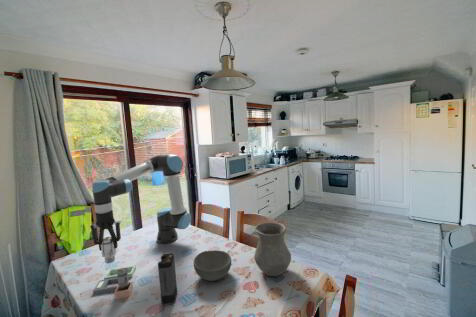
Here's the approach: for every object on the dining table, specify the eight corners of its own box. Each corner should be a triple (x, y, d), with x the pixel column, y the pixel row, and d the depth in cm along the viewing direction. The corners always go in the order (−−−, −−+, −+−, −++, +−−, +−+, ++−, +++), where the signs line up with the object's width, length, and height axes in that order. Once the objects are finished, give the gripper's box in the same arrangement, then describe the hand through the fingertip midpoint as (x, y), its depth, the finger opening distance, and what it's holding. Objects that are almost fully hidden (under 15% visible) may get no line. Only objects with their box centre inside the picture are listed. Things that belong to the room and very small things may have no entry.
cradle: (124, 280, 122) (124, 276, 121) (119, 291, 113) (119, 286, 113) (100, 284, 119) (99, 280, 119) (93, 295, 111) (92, 290, 111)
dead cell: (130, 289, 113) (128, 265, 112) (127, 295, 109) (125, 270, 108) (121, 290, 112) (118, 266, 111) (117, 297, 108) (115, 271, 107)
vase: (260, 286, 111) (257, 238, 108) (251, 264, 129) (249, 223, 127) (297, 280, 114) (296, 233, 111) (284, 260, 132) (282, 219, 130)
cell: (116, 258, 118) (113, 234, 116) (113, 262, 113) (110, 238, 112) (107, 259, 117) (104, 236, 115) (103, 264, 112) (100, 239, 111)
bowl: (202, 294, 108) (200, 274, 107) (190, 272, 126) (189, 255, 125) (238, 279, 117) (237, 261, 116) (223, 261, 135) (222, 245, 134)
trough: (135, 270, 131) (135, 265, 131) (132, 278, 123) (131, 273, 123) (110, 274, 128) (109, 269, 128) (104, 283, 120) (104, 277, 120)
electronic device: (165, 291, 111) (162, 253, 109) (177, 290, 111) (174, 252, 109) (160, 306, 101) (156, 264, 99) (174, 304, 102) (170, 263, 100)
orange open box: (133, 288, 114) (132, 281, 114) (129, 297, 108) (128, 290, 108) (119, 291, 113) (118, 283, 113) (115, 300, 107) (114, 292, 106)
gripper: (124, 206, 118) (129, 248, 120) (88, 210, 114) (94, 254, 117) (120, 211, 110) (125, 256, 113) (81, 215, 107) (87, 261, 109)
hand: (109, 254), depth 115 cm, fingers closed on cell, 4 cm apart
